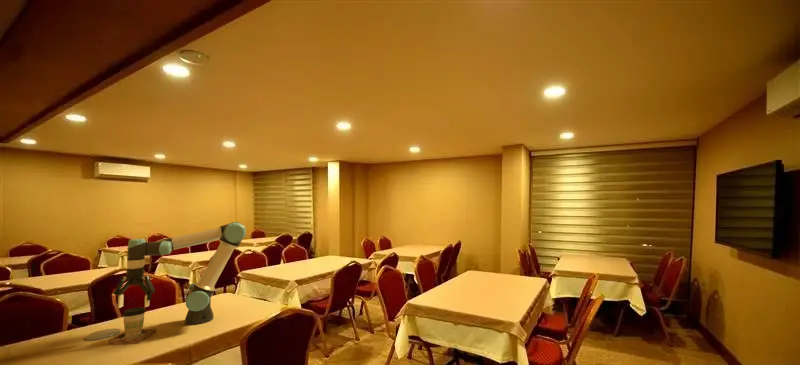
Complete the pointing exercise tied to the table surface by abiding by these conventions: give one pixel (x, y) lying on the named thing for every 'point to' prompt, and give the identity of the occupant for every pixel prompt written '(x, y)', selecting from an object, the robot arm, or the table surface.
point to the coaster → (102, 334)
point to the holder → (119, 337)
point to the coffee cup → (133, 322)
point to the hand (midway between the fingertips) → (133, 307)
